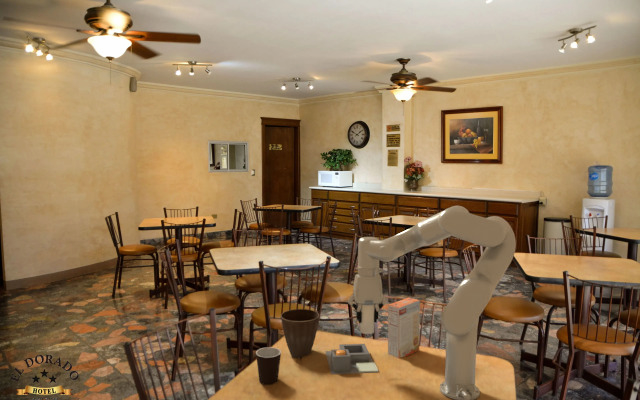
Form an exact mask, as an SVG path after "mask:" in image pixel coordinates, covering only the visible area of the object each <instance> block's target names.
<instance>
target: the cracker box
mask: <svg viewBox="0 0 640 400" xmlns="http://www.w3.org/2000/svg"><path fill="white" fill-rule="evenodd" d="M420 308H421V301H420V299H416V298H412V297H406V298H403V299H401V300H398V301H395V302H393V303H389V304H387V355H389V356H392V357H394V358H397V359H400V358H403V357H408V356H410V355H412V354H414V353H416V352H418V351H420V328H421V327H420V322H421V321H420V317H421V315H420V313H421V312H420V311H421V309H420Z"/></svg>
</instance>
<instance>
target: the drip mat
mask: <svg viewBox="0 0 640 400" xmlns="http://www.w3.org/2000/svg"><path fill="white" fill-rule="evenodd" d="M356 366H357V369H358V371H359V373H358V374H362V373H361V372H379V369H378V367H377V365H376V363H375V361H373V362H364V363H356Z"/></svg>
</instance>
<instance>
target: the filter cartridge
mask: <svg viewBox="0 0 640 400" xmlns="http://www.w3.org/2000/svg"><path fill="white" fill-rule="evenodd" d="M374 309H375V304H374V303H373V301H365V303H364V304H362V306H361V309H360V310H361V313H362V314H361V323H359V332H360V333H361V334H365V335H371V334H374V333H375V322H374Z"/></svg>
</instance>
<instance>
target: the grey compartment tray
mask: <svg viewBox="0 0 640 400" xmlns="http://www.w3.org/2000/svg"><path fill="white" fill-rule="evenodd" d="M338 347H339V349H331V350H327V351H326V350H325V356H326V360H327V363H328V367H329V371H330V374H331V375H349V374H355V375H356V374H373V373H374V374H375V373H377V374H378V373H379V371H378V372H361V373H359V371H358V369H357V366H356V363H364V362H374V360H373V358H372V356H371V354H370V352H369V350H368V348H367V345H366V344H365V343H347V344H344V343H343V344H339V346H338ZM337 350H344V351H346V355H339V356H336V351H337Z"/></svg>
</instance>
